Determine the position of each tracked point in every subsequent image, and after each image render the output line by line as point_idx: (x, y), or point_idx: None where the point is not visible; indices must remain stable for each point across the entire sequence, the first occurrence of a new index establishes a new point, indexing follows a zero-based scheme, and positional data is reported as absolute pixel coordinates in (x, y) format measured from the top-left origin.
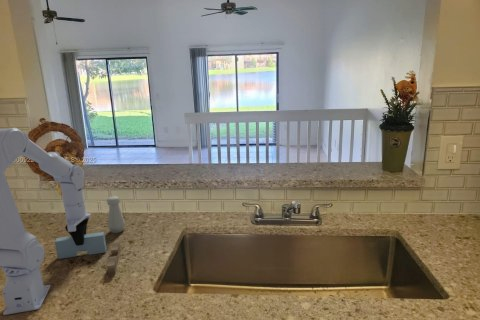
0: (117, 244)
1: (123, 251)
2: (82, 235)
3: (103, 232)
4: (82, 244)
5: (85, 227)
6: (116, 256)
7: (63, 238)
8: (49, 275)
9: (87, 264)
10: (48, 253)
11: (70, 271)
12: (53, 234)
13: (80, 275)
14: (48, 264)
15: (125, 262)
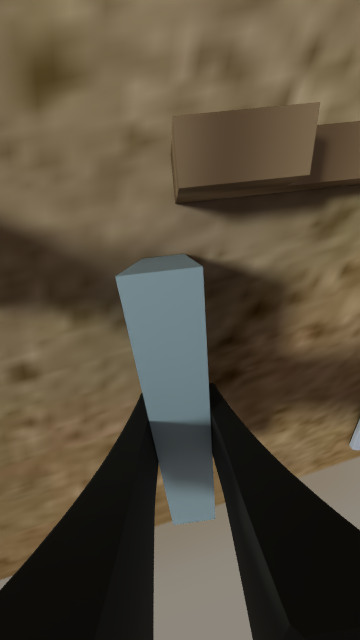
0: (226, 125)
1: None
2: (259, 445)
3: (132, 279)
4: (215, 387)
5: (133, 488)
6: (327, 134)
7: (186, 502)
8: (296, 409)
9: (274, 312)
10: None
11: (301, 359)
12: (10, 492)
13: (351, 314)
14: None
15: (347, 74)
